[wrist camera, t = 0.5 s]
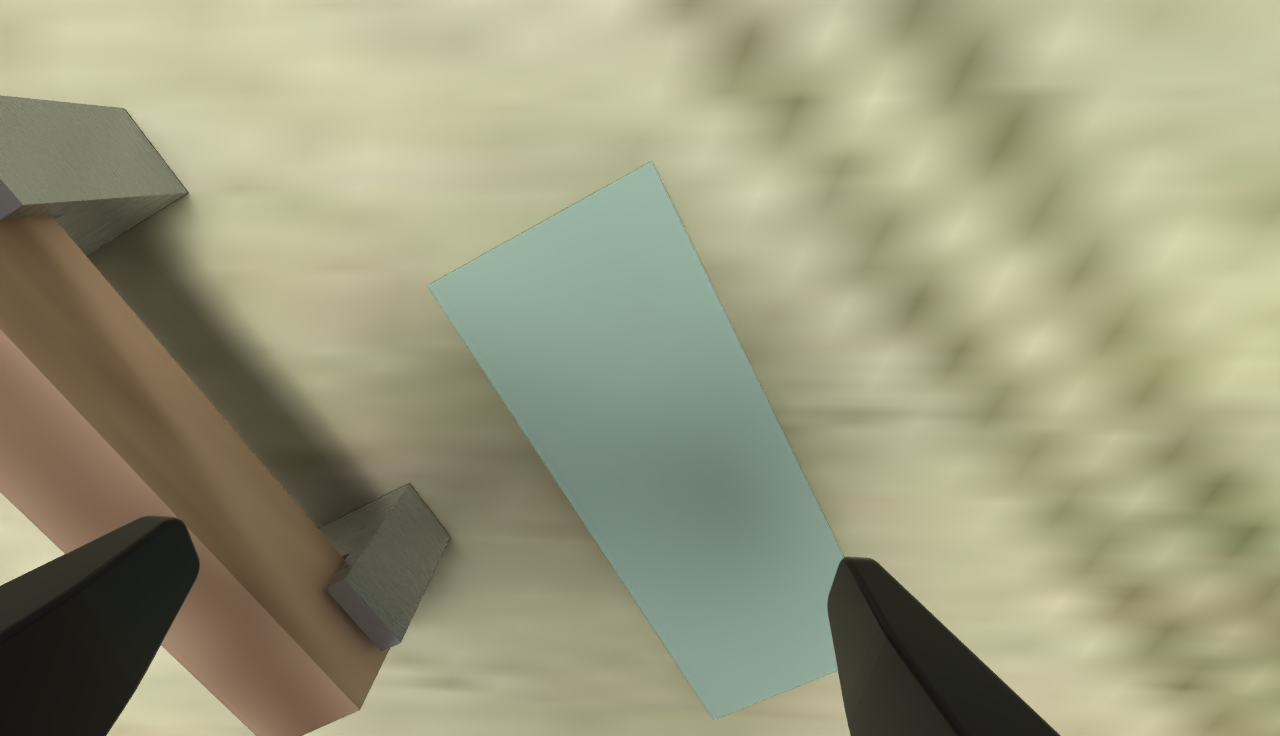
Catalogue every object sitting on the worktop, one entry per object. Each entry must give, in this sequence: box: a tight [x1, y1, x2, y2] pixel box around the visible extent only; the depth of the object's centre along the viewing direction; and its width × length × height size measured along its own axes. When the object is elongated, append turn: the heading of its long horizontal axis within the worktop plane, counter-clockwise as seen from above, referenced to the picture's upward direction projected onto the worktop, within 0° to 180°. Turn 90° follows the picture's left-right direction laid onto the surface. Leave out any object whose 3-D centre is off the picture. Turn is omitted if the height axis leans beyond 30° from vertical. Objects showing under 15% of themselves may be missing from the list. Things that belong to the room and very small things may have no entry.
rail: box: [0, 215, 390, 736], centre depth 17 cm, size 4×20×4 cm, turn 28°
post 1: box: [0, 96, 188, 256], centre depth 17 cm, size 6×3×6 cm, turn 118°
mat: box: [427, 161, 844, 720], centre depth 24 cm, size 9×24×1 cm, turn 28°
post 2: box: [319, 483, 450, 651], centre depth 22 cm, size 6×3×6 cm, turn 118°
